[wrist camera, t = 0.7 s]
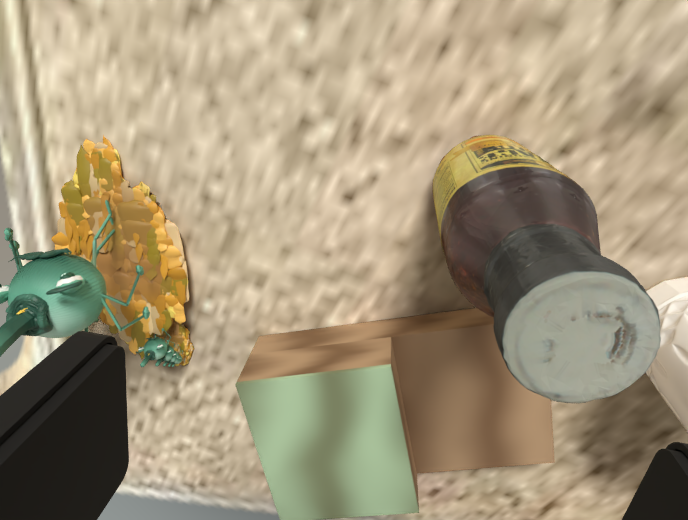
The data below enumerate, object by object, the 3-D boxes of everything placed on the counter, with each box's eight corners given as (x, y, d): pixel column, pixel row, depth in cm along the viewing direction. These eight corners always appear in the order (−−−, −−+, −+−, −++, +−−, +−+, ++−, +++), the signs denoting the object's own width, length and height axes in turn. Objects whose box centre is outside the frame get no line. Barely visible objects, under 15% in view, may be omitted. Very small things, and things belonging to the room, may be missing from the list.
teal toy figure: (104, 369, 40) (-63, 506, 25) (49, 140, 35) (-191, 153, 21) (217, 366, 38) (108, 508, 24) (176, 128, 34) (11, 132, 20)
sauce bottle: (552, 163, 30) (797, 319, 12) (491, 245, 33) (619, 481, 14) (462, 108, 30) (576, 184, 11) (407, 196, 32) (426, 378, 13)
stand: (535, 300, 34) (563, 346, 28) (544, 438, 38) (570, 502, 32) (259, 336, 37) (235, 384, 31) (295, 460, 41) (280, 521, 36)
